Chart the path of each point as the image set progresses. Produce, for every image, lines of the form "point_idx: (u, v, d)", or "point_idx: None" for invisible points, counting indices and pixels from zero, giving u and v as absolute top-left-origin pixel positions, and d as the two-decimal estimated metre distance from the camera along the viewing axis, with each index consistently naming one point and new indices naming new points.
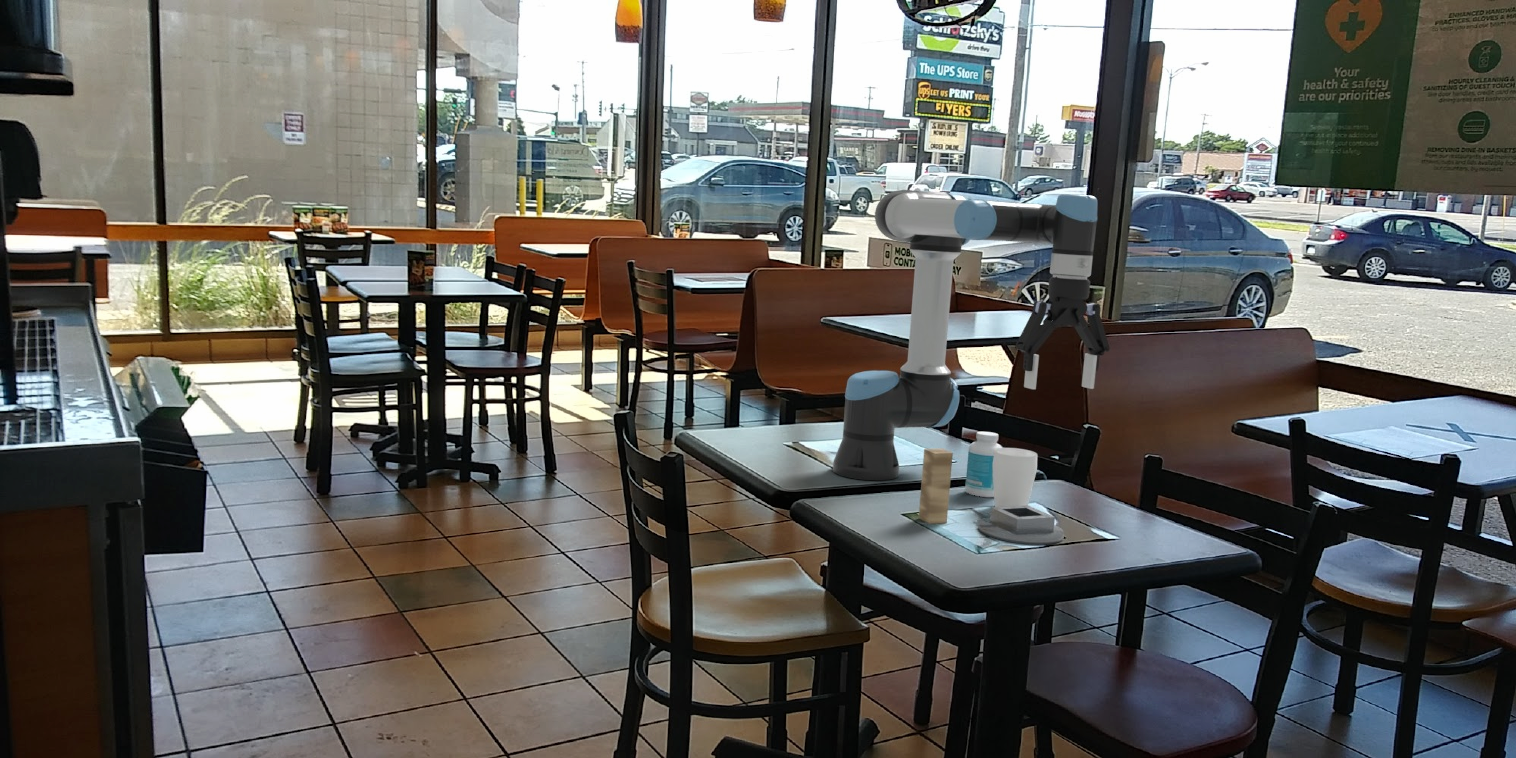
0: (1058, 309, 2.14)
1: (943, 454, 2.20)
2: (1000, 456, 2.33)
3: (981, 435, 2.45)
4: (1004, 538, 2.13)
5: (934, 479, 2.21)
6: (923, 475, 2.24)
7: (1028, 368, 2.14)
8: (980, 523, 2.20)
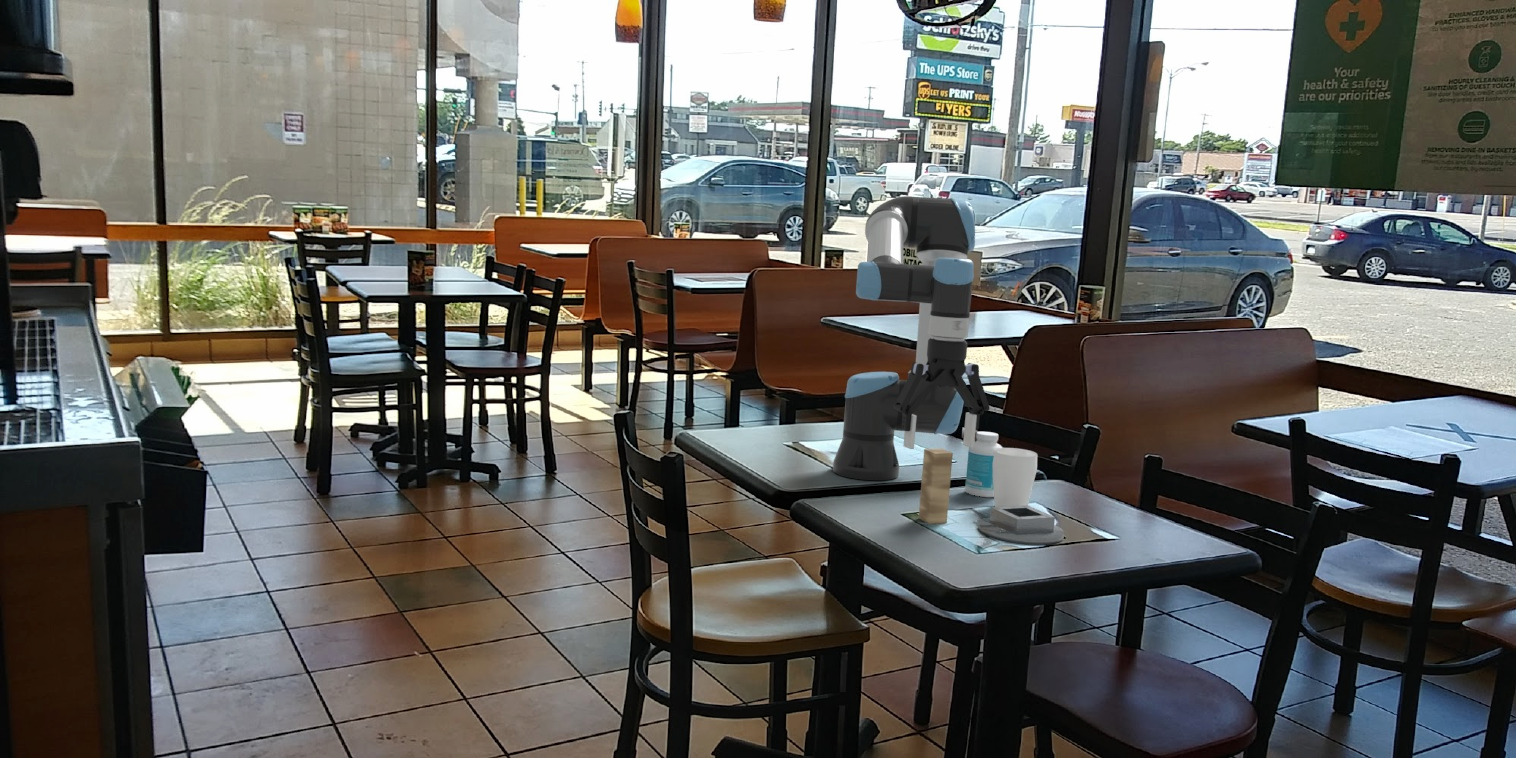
0: (935, 370, 2.18)
1: (943, 454, 2.20)
2: (1000, 456, 2.33)
3: (981, 435, 2.45)
4: (1004, 538, 2.13)
5: (934, 479, 2.21)
6: (923, 475, 2.24)
7: (906, 428, 2.17)
8: (980, 523, 2.20)
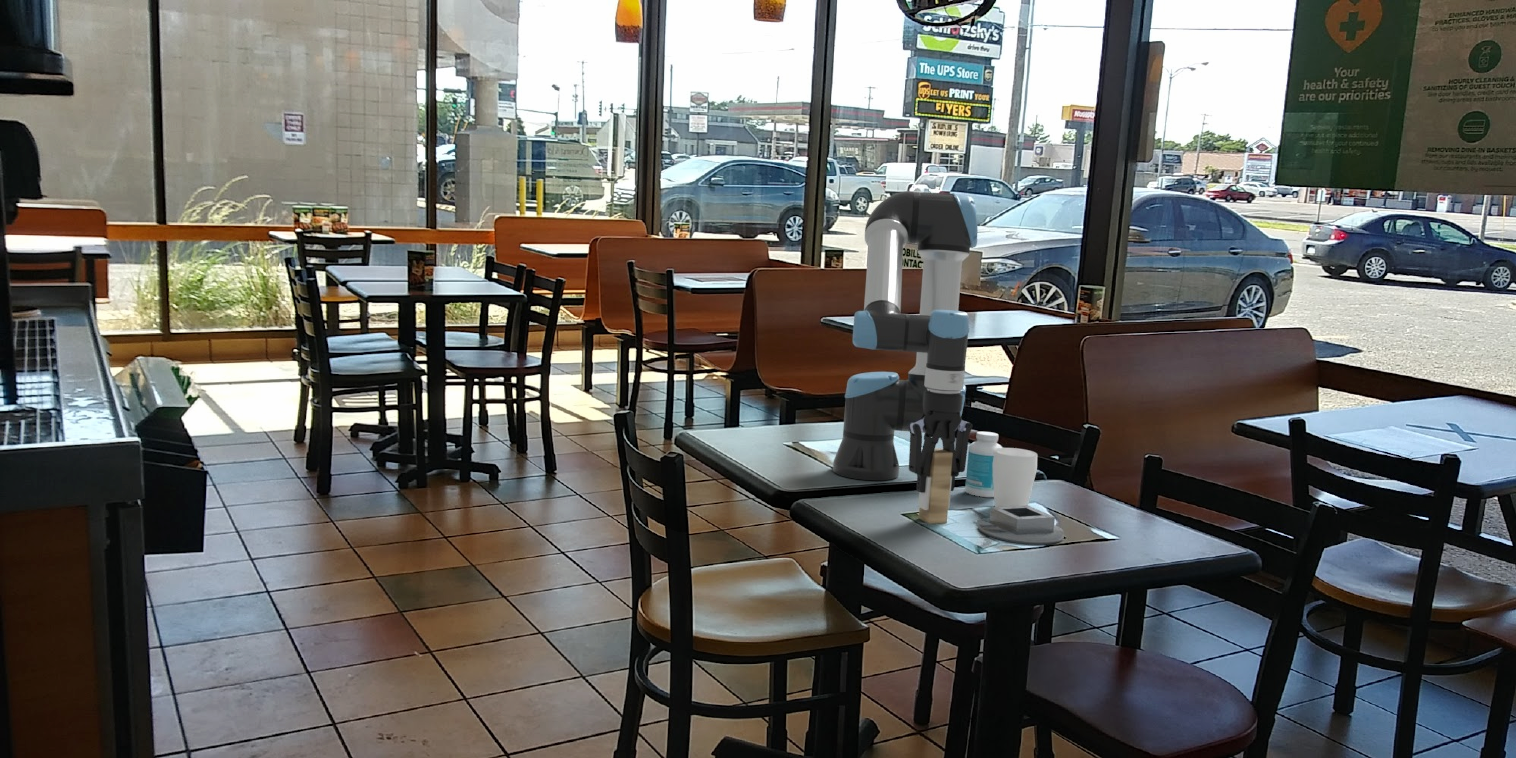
0: (932, 421, 2.19)
1: (943, 454, 2.20)
2: (1000, 456, 2.33)
3: (981, 435, 2.45)
4: (1004, 538, 2.13)
5: (934, 479, 2.21)
6: None
7: (921, 490, 2.21)
8: (980, 523, 2.20)
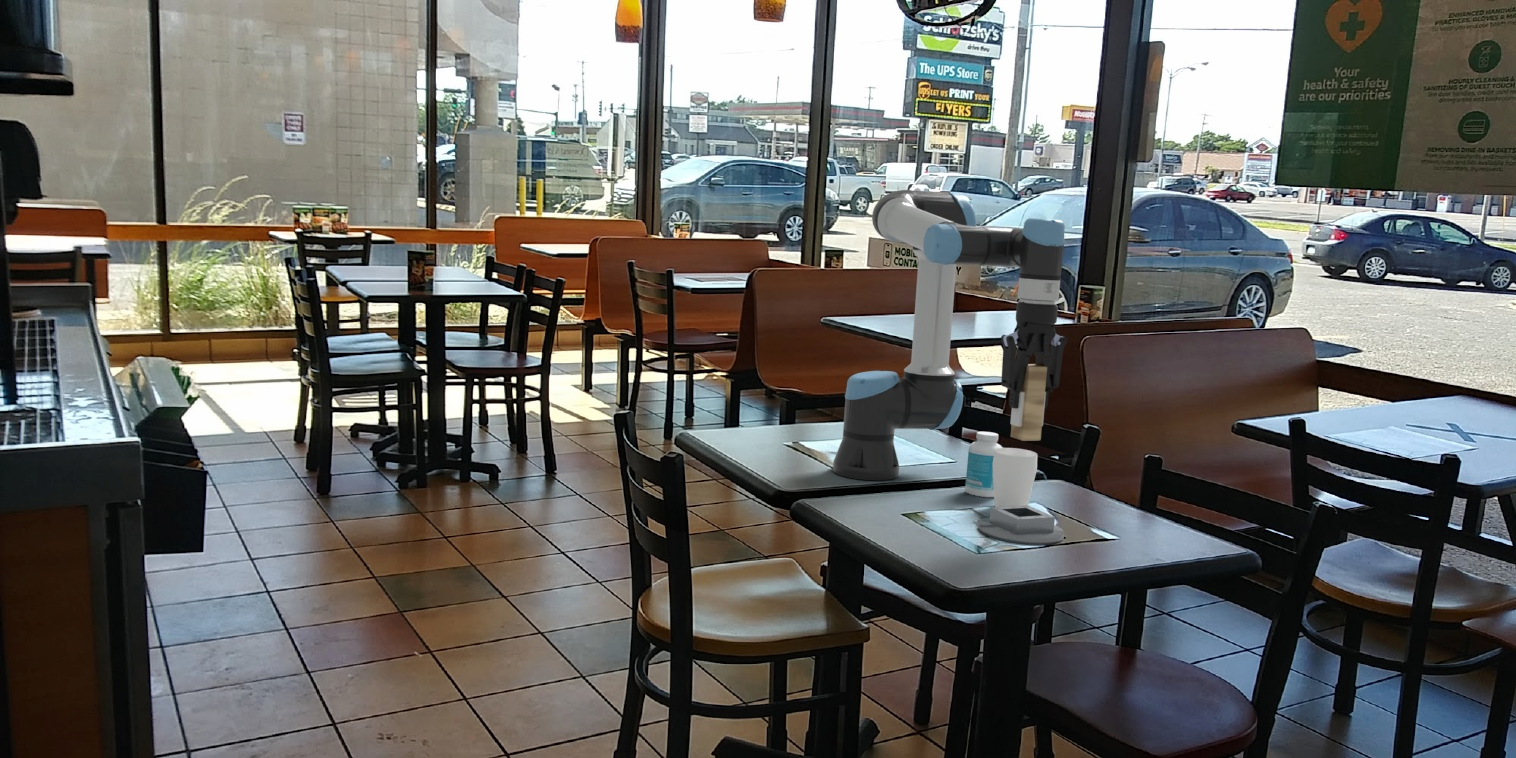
0: (1026, 333, 2.12)
1: (1037, 368, 2.13)
2: (1000, 456, 2.33)
3: (981, 435, 2.45)
4: (1004, 538, 2.13)
5: (1028, 394, 2.13)
6: None
7: (1014, 405, 2.14)
8: (980, 523, 2.20)
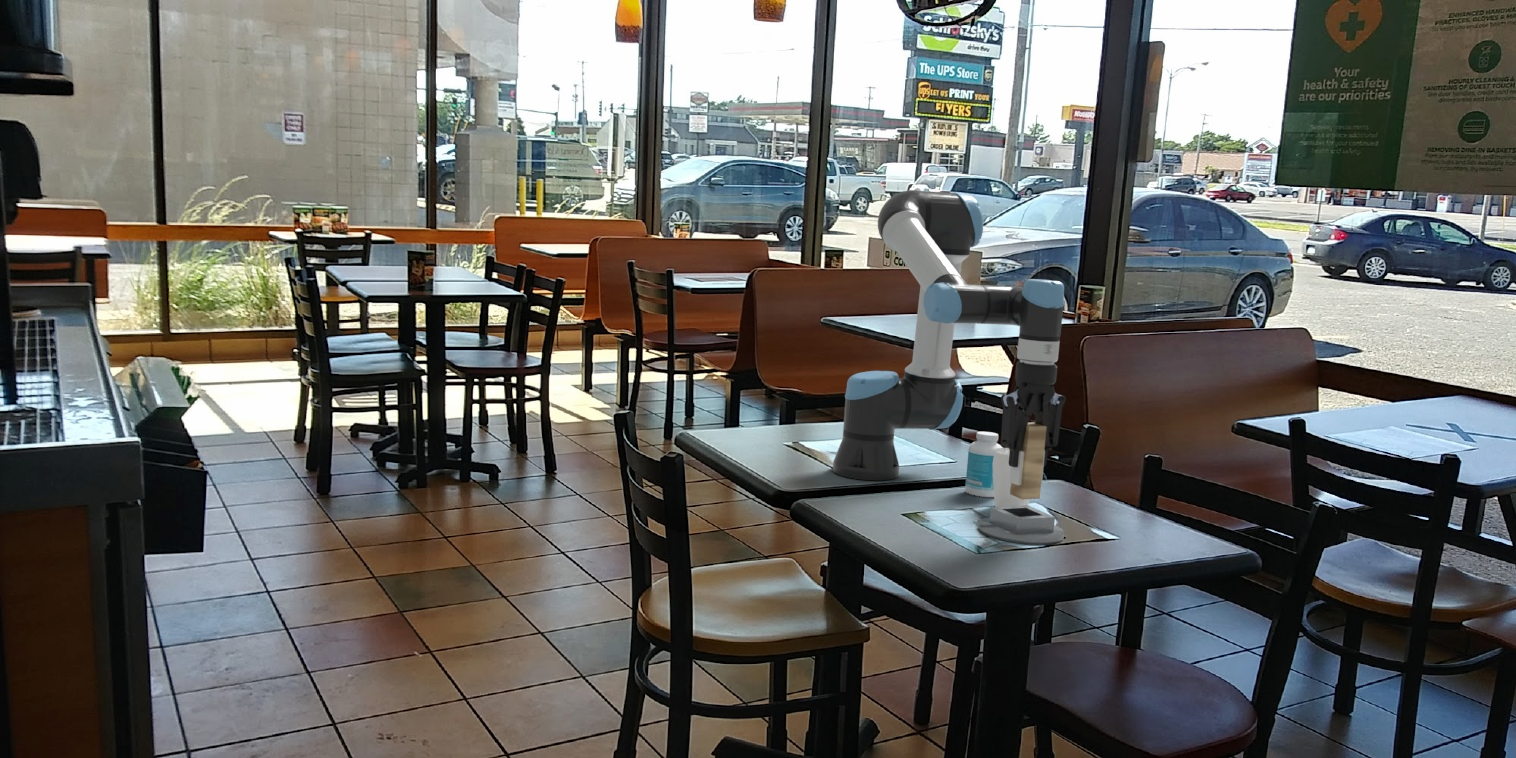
0: (1025, 393, 2.13)
1: (1037, 427, 2.14)
2: (1000, 456, 2.33)
3: (981, 435, 2.45)
4: (1004, 538, 2.13)
5: (1028, 453, 2.15)
6: None
7: (1014, 464, 2.15)
8: (980, 523, 2.20)
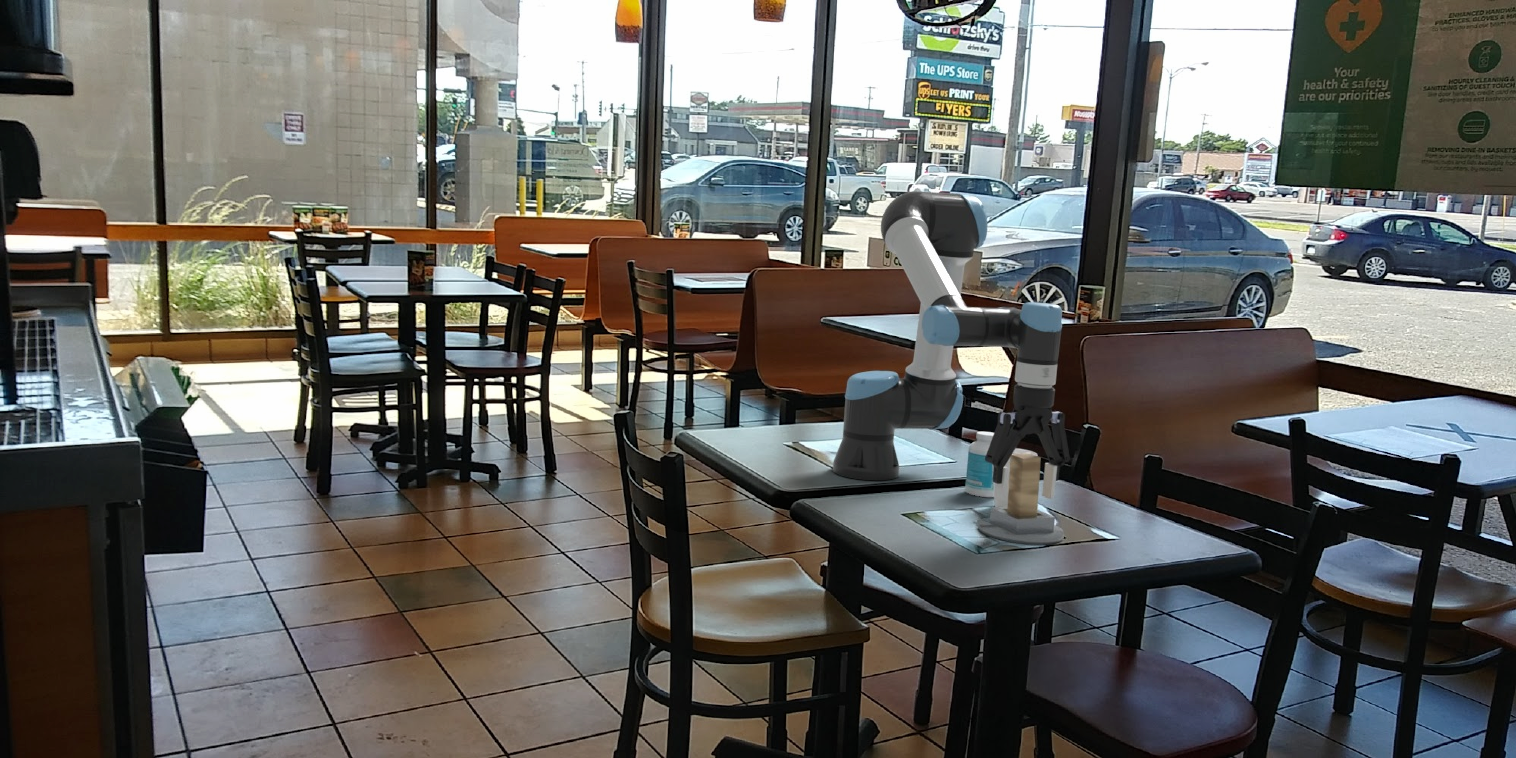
0: (1023, 417, 2.14)
1: (1031, 459, 2.15)
2: None
3: (981, 435, 2.45)
4: (1004, 538, 2.13)
5: (1023, 485, 2.15)
6: (1010, 481, 2.18)
7: (998, 481, 2.15)
8: (980, 523, 2.20)
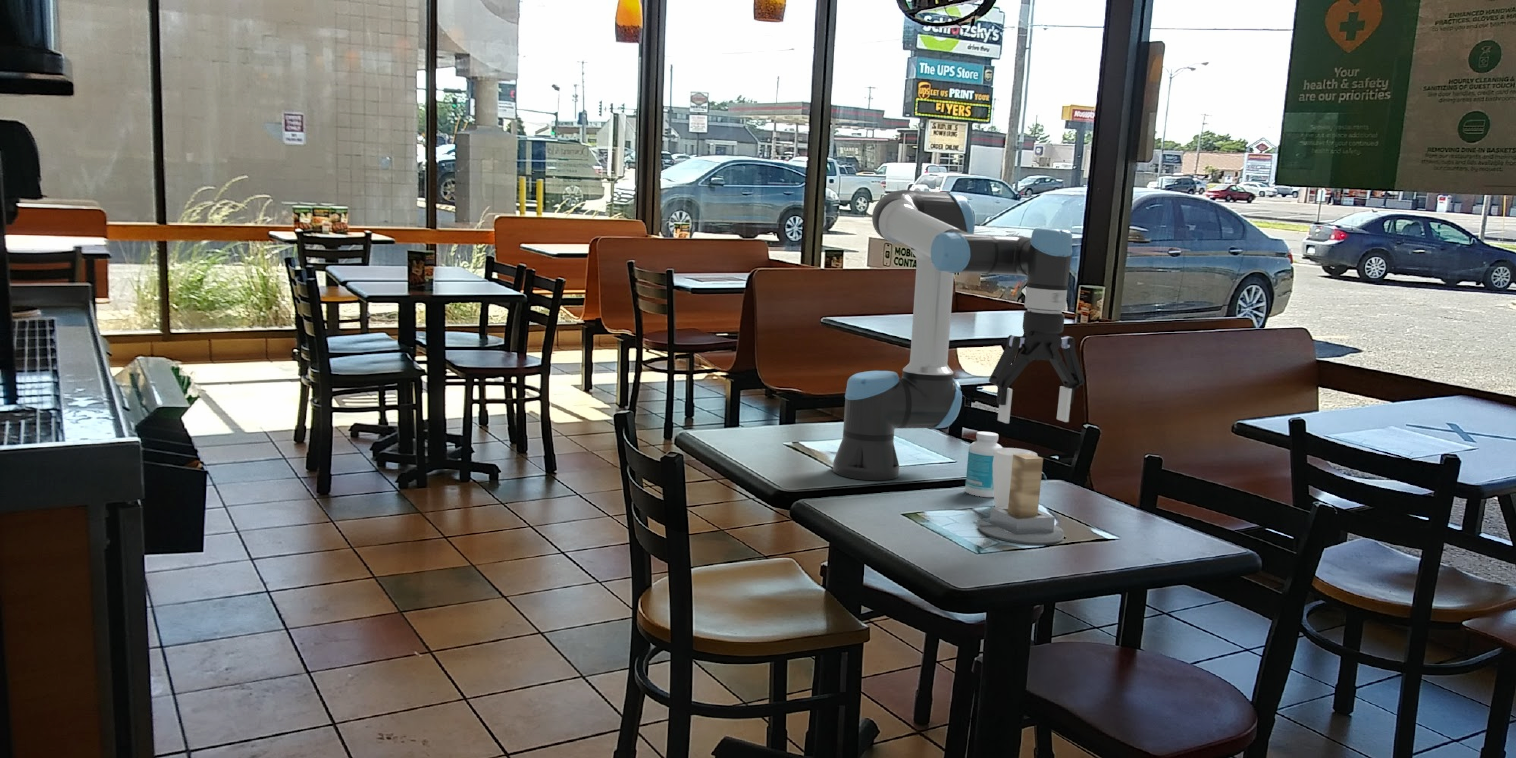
0: (1032, 343, 2.14)
1: (1034, 459, 2.15)
2: (1000, 456, 2.33)
3: (981, 435, 2.45)
4: (1004, 538, 2.13)
5: (1024, 485, 2.15)
6: (1012, 481, 2.18)
7: (1001, 402, 2.14)
8: (980, 523, 2.20)
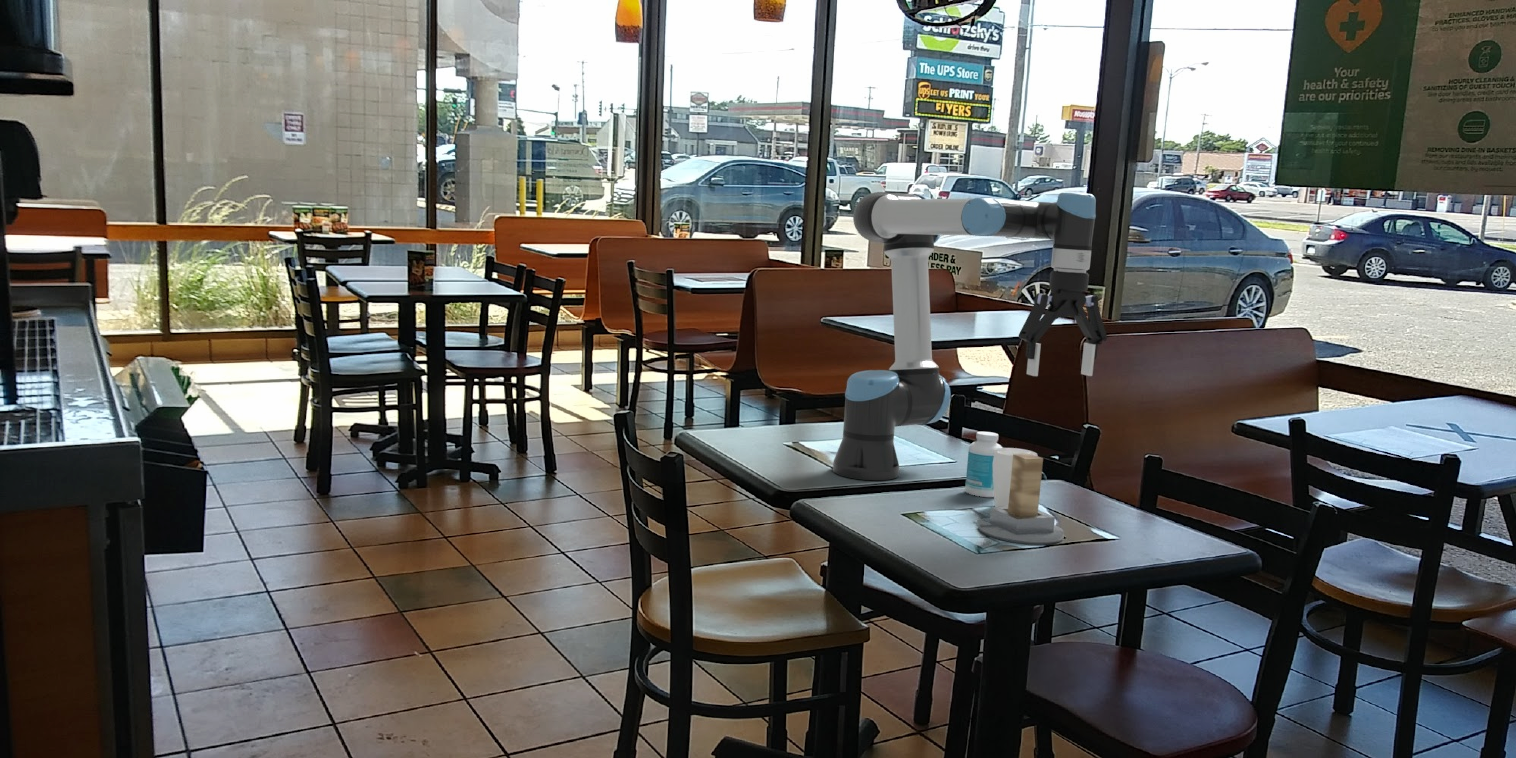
0: (1059, 301, 2.28)
1: (1034, 459, 2.15)
2: (1000, 456, 2.33)
3: (981, 435, 2.45)
4: (1004, 538, 2.13)
5: (1024, 485, 2.15)
6: (1012, 481, 2.18)
7: (1030, 356, 2.28)
8: (980, 523, 2.20)
